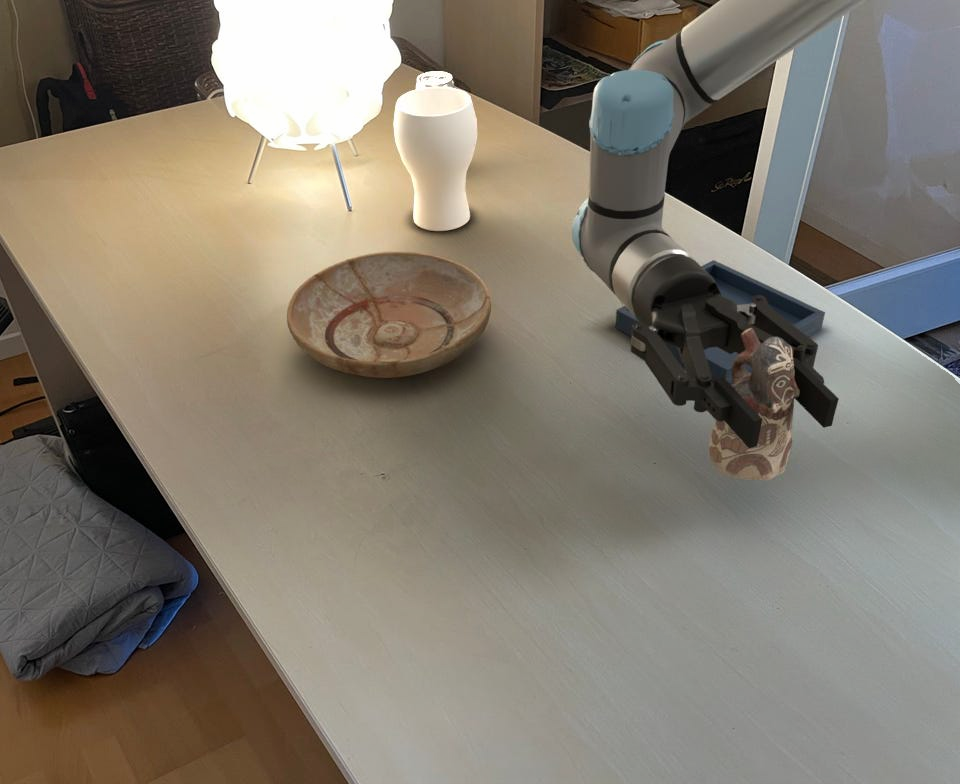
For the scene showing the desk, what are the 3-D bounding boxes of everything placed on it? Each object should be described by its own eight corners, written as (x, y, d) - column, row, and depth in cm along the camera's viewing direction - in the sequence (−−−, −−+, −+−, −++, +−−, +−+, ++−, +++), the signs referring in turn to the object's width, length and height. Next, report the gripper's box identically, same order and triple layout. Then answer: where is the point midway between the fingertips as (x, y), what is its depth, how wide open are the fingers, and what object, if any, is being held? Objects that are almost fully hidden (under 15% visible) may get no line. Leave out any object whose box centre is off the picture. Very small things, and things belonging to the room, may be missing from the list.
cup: (393, 233, 133) (380, 115, 122) (415, 197, 140) (405, 82, 129) (470, 239, 131) (464, 120, 120) (488, 203, 138) (484, 86, 127)
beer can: (460, 158, 148) (455, 70, 139) (457, 174, 144) (451, 85, 135) (424, 158, 148) (417, 71, 139) (420, 174, 145) (412, 85, 136)
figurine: (748, 492, 86) (772, 373, 77) (691, 452, 90) (708, 335, 81) (805, 459, 89) (835, 341, 80) (747, 422, 93) (769, 305, 84)
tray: (821, 330, 114) (825, 312, 112) (723, 388, 107) (726, 369, 105) (711, 277, 122) (713, 259, 121) (614, 327, 116) (616, 309, 114)
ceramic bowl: (259, 384, 111) (250, 344, 107) (340, 279, 126) (334, 241, 122) (455, 413, 106) (453, 373, 102) (515, 301, 120) (515, 262, 117)
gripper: (748, 304, 100) (883, 432, 86) (572, 347, 97) (682, 488, 82) (760, 232, 95) (907, 356, 80) (574, 275, 91) (693, 413, 77)
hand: (793, 423), depth 81 cm, fingers closed on figurine, 6 cm apart
